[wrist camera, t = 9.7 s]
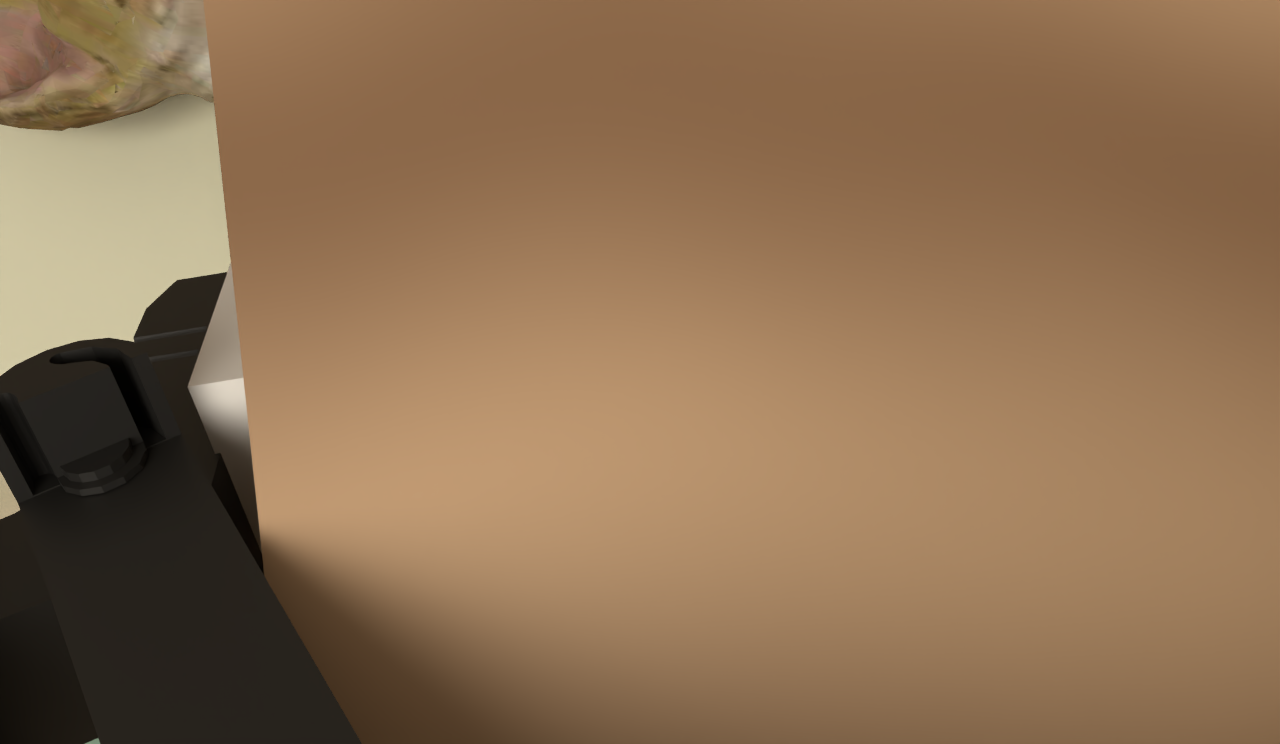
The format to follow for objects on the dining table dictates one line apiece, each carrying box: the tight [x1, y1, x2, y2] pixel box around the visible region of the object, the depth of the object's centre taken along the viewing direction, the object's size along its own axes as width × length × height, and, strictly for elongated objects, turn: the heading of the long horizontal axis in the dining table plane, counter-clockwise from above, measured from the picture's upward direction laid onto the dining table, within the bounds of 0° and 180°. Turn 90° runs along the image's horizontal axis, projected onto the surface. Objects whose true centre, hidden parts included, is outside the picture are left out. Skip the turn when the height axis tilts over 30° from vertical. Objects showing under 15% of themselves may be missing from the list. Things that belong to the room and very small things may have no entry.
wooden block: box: [203, 0, 1280, 744], centre depth 14 cm, size 9×9×10 cm
